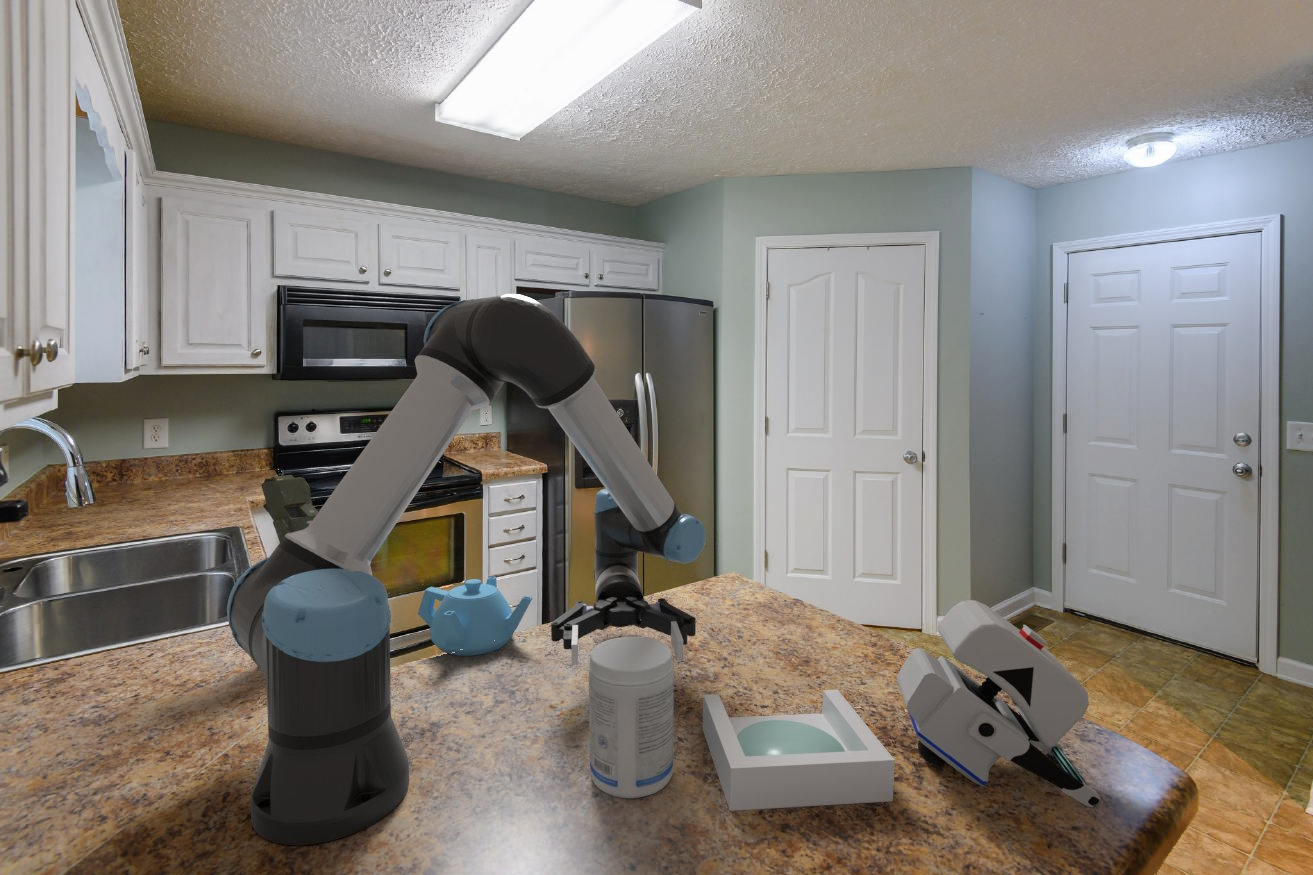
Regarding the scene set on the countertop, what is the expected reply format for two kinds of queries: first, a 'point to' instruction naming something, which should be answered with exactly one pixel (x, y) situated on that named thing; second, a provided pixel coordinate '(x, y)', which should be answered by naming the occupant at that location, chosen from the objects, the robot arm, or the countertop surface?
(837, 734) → the housing
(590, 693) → the supplement tub
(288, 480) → the mechanical leg
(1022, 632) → the robotic device
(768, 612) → the countertop surface
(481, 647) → the teapot
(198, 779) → the countertop surface
